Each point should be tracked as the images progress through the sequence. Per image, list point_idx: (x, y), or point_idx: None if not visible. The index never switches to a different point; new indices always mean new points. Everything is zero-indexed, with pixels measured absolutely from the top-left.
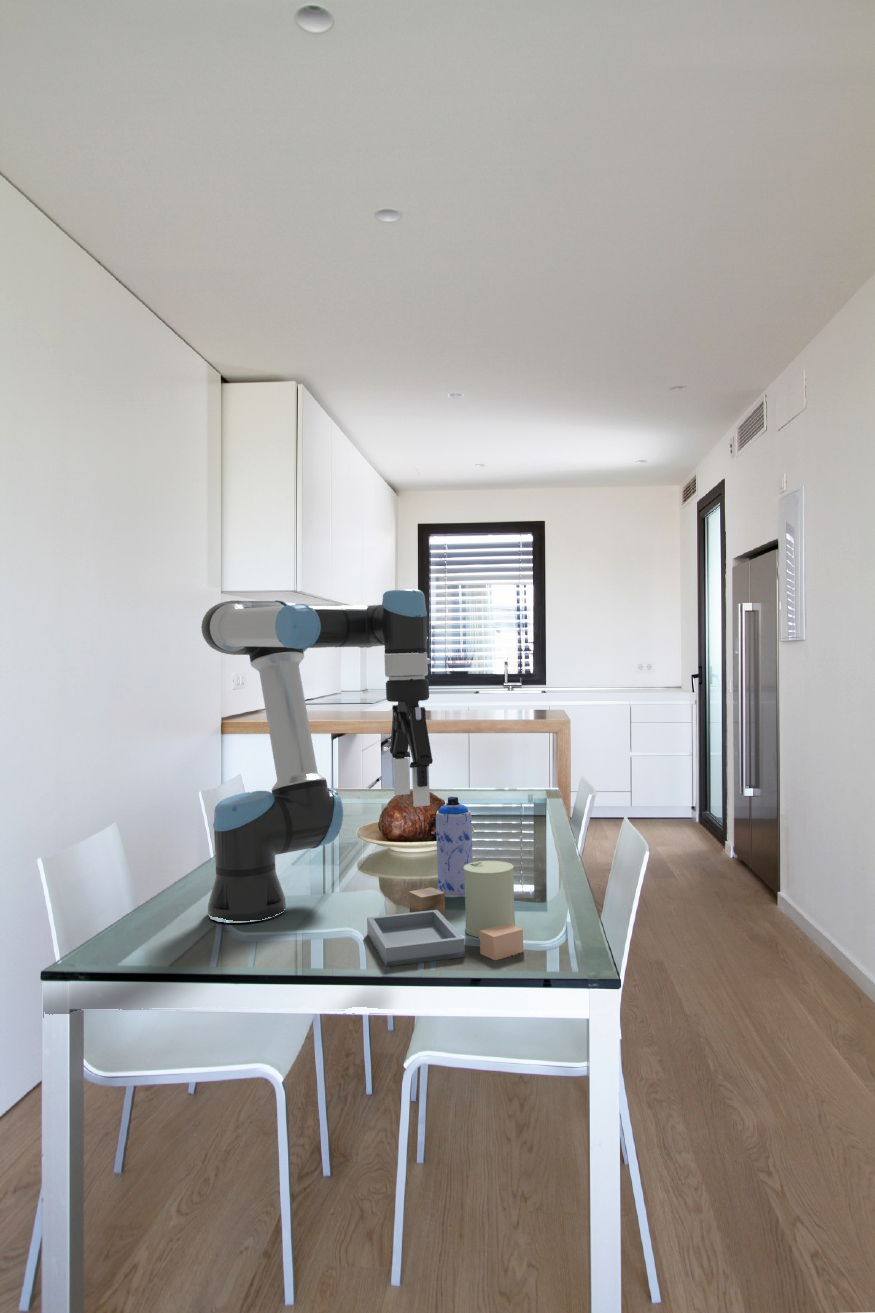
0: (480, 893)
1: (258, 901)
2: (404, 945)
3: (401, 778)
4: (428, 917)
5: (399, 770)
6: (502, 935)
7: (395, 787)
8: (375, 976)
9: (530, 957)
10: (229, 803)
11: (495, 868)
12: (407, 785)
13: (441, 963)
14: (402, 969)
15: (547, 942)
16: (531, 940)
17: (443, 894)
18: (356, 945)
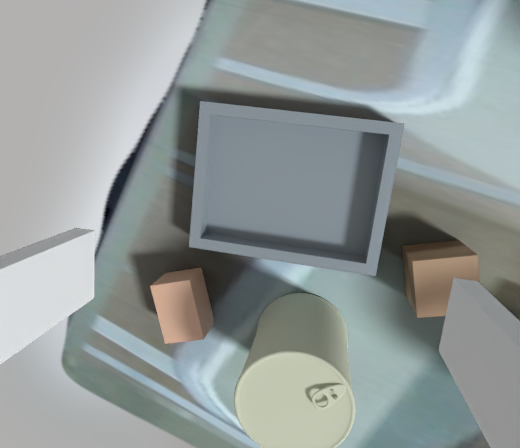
0: (259, 341)
1: None
2: (198, 137)
3: (478, 356)
4: (367, 250)
5: (503, 375)
6: (154, 302)
7: (466, 293)
8: (176, 72)
9: (156, 324)
10: None
11: (273, 412)
12: (455, 364)
13: (187, 194)
14: (188, 125)
15: (204, 378)
16: (223, 363)
17: (416, 314)
18: (344, 84)
